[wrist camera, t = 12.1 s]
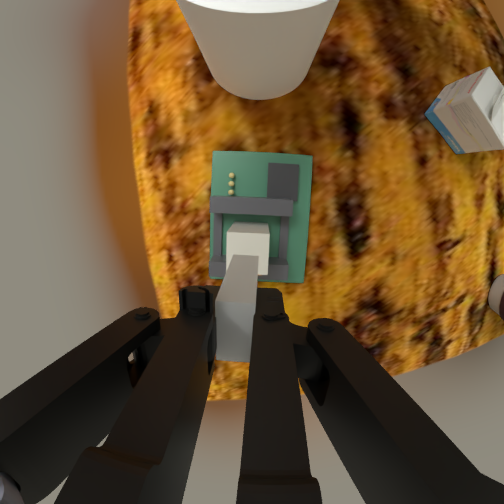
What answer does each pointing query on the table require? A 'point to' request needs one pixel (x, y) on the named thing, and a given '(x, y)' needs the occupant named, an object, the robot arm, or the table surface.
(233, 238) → the plug
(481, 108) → the ink box
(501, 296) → the coffee cup
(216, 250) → the board
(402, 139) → the table surface
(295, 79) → the canister
